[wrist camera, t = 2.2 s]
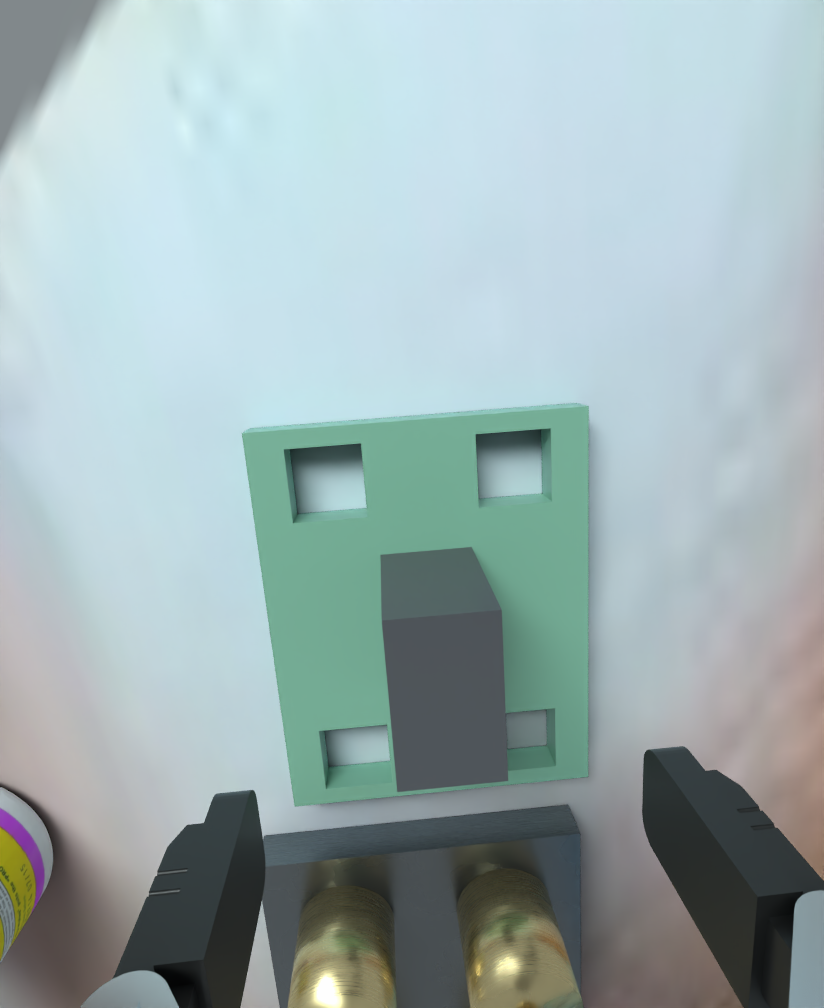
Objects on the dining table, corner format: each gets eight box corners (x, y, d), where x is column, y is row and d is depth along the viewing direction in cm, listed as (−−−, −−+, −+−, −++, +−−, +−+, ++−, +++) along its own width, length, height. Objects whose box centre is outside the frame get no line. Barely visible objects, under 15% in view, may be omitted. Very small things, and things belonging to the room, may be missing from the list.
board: (249, 428, 20) (194, 462, 14) (576, 402, 20) (661, 425, 14) (298, 783, 23) (271, 934, 17) (577, 755, 24) (646, 894, 18)
